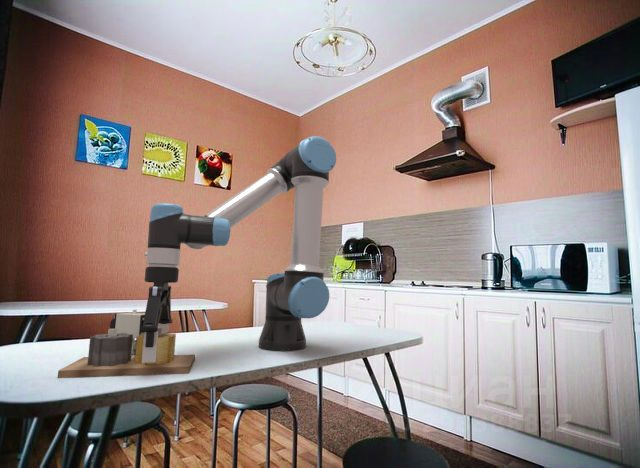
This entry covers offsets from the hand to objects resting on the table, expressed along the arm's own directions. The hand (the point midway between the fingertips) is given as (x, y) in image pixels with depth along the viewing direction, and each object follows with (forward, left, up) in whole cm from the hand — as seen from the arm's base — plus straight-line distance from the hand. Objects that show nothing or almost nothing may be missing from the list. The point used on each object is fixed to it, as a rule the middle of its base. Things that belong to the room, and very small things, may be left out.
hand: (155, 355), depth 85 cm
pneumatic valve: (+9, -18, -3) cm, 21 cm away
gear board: (+4, 0, -3) cm, 5 cm away
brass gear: (0, 0, -1) cm, 1 cm away
